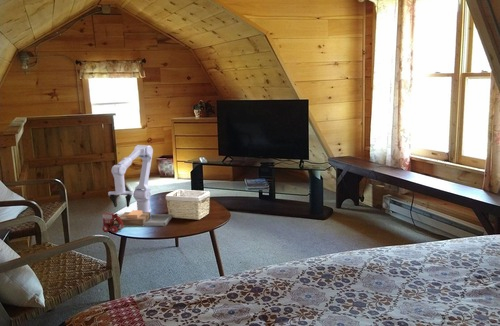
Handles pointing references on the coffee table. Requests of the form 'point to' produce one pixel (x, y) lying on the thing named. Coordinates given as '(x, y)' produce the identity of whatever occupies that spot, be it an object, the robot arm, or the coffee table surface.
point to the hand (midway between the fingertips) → (121, 206)
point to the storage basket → (188, 204)
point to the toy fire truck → (111, 222)
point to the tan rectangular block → (135, 214)
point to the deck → (135, 219)
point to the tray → (158, 220)
